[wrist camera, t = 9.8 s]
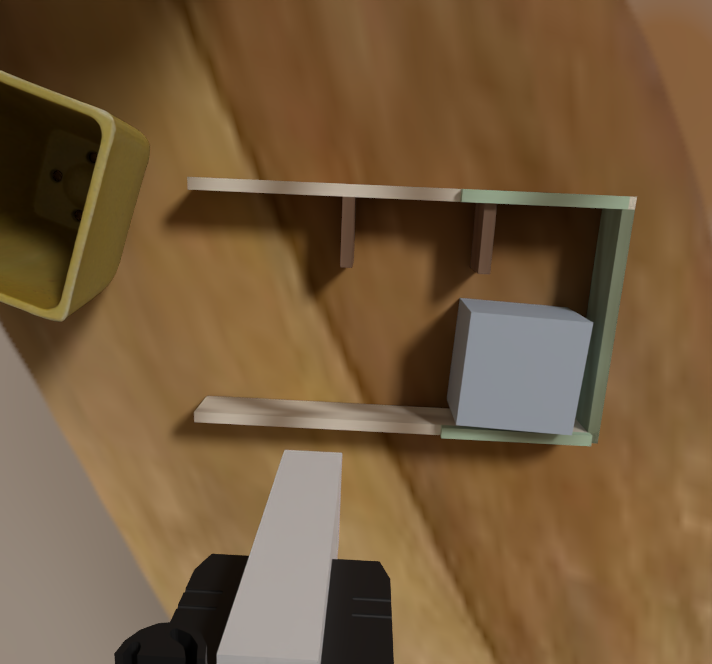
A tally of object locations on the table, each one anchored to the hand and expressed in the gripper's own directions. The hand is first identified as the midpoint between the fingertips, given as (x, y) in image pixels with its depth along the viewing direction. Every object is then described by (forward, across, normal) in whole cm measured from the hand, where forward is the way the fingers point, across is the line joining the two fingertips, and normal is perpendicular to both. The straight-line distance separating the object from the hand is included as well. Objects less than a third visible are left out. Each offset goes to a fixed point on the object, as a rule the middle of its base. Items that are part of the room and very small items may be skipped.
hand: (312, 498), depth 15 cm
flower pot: (+18, -14, +7) cm, 24 cm away
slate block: (+18, +9, -1) cm, 20 cm away
